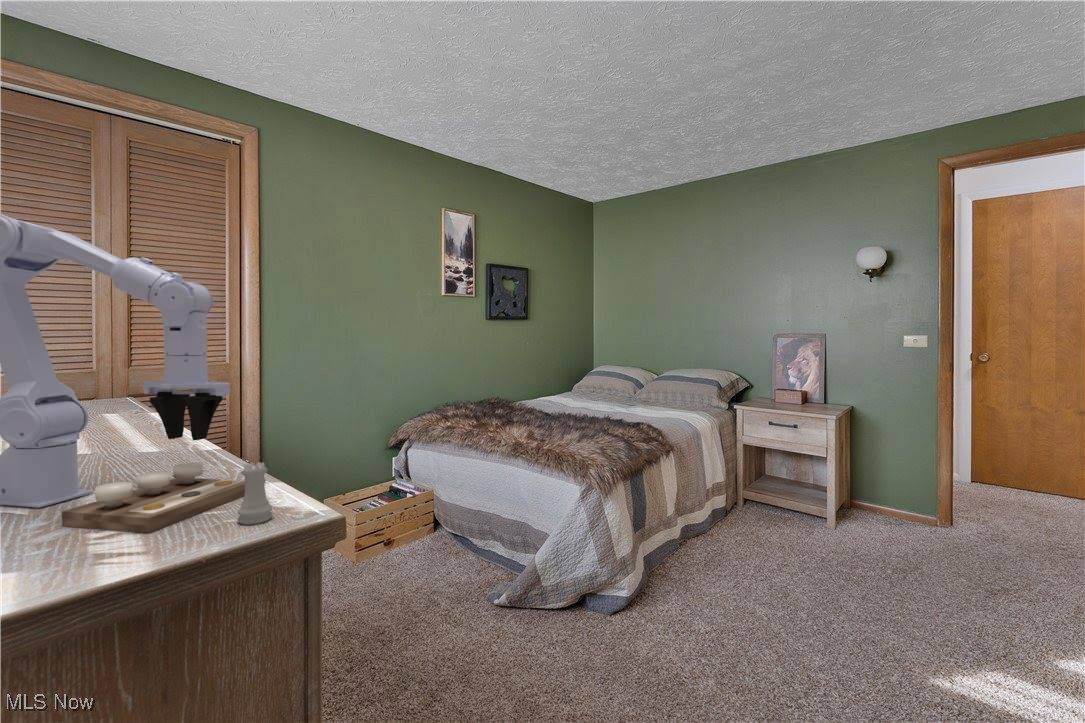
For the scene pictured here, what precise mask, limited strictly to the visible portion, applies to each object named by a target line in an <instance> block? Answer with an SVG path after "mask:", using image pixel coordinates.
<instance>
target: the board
mask: <svg viewBox="0 0 1085 723" xmlns="http://www.w3.org/2000/svg"><path fill="white" fill-rule="evenodd" d="M244 481H245V480H233V479H214V478H199V477H198V478H196V477H195V482H193V483H189V484H182V478H174V477H173V478H170V484H169V485H166V486H163V487H162V492H161V493H159V494H153V495H148V494H147V489H139V488H136V489H133V495H132V496H130V497H127V498H124V499H123V505H121V506H117V507H106V501H96V500H95V501H93V502H90V503H89V502H88V503H86V504H83V505H79V506H76V507H73V508H69V509H66V510H62V511H61V526H62V527H71V528H82V529H96V530H107V531H120V532H128V533H129V532H133V533H144V534H151V533H153V532H156V531H159V530H160V529H161V530H162V529H163V528H166V527H168V526H172V525H174V524H176V523H179V522H181V521H183V520H186V519H189V518H191V517H194V516H196V515H199V514H201V513H204V512H207V511H209V510H212V509H215V508H217V507H220V506H222V505H225V504H227V503H230V502H232V501H235V500H237V499H239V498H242V497H243V498H244V494H245V484H244Z"/></svg>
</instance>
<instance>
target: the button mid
mask: <svg viewBox="0 0 1085 723" xmlns="http://www.w3.org/2000/svg"><path fill="white" fill-rule="evenodd" d="M170 480H171V471H162V470H161V471H151V472H145V473H142V474H139V475H137V476H136V484H137V486H136V489H147V494H148V495H153V494H159V493H161V492H162V487H163V486H166V485H169V484H170Z"/></svg>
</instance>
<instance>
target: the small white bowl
mask: <svg viewBox="0 0 1085 723" xmlns="http://www.w3.org/2000/svg"><path fill="white" fill-rule="evenodd" d="M203 474H204V463H202V462H184V463H180V464H176V465H174V466H172V478H173V479H174V478H182V484H189V483H193V482H195V478H196V477H199V476H202V475H203Z"/></svg>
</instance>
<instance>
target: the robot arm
mask: <svg viewBox="0 0 1085 723" xmlns="http://www.w3.org/2000/svg"><path fill="white" fill-rule="evenodd" d="M59 261H64V262H65V261H71V262H73V263H76V264H79V265H80V266H83V267H86V268H88V269H90V270H93V271H95V272H98V273H101V274H103V275H105V276H108V277H110V279H111V282H112V284H113V286H114V287H115V288H116V289H117V290H119V291H121V292H123V293H126V294H128V295H130V296H133V297H135V298H137V299H139V300H141V301H143V302H145V303H148V304H150V305H152V306H155V308H156V309H157V310H158V311H159V312H160V314H161V321H162V323H163V324H162V325H163V327H162V328H163V358H164V359H163V367H164V369H163V371H164V372H163V374H164V380H163V381H161V380H160V381H159V380H158V381H144V382H143V383H142V386H143V388H142V389H143V390H142V391H143V394H144V395H150V394H151V395H152V394H156V396H153V397H149V403H150V404H151V406H153V408H154V409H155V410H156V413H157V414H158V416H159V417H160V419H161V422H162V424H163V427H164V431H165V433H166V437H167V438H168V439H167V440H175V439H179V438H183V436H184V430H185V429H184V428H185V415H186V414H185V413H186V410H187V413H188V415H189V421H190V422H189V423H190V435H191V439H192V441H201V440H204V439H207V437H208V435H209V434H208V433H209V429H210V425H211V423H212V420H213V417H214V415H215V412H216V411H217V409H218V407H219V406H220V404H221V403H222V402H223V396H230V395H231V383H230V382H217V381H208V343H207V342H208V341H207V339H208V338H207V337H208V335H207V334H208V333H207V331H208V330H207V314H209V313H210V311H211V310H212V308H213V305H214V298H213V295H212V293H211V292H210V290H209V289H208V288H207V287H205V286H204V285H202V284H201V282H193V281H191V282H188V281H186V280H185V281H184V279H183V275H182V274H179V273H178V272H172V273H171V272H169V271H166V270H164V269H162V268H160V267H157V266H156V265H155V261H154V260H152V259H149V258H146V257H144V256H143V257H140V258H139V257H129V258H124V259H121V258H120V257H117V256H115V255H114V254H111V253H109V252H107V251H106V250H103V249H101V248H100V247H97V246H96V245H93V244H92V243H90V242H87V241H86V240H83V239H82V238H80V237H78V236H75V235H73V234H71V233H68V232H65V231H60V230H56V229H55V228H53V227H50V226H46V225H40V224H39V225H38V224H35V223H31V222H27V221H23V220H21V219H20V220H19V219H15V218H12V217H9V216H7V215H5V214H1V213H0V367H1V370H2V372H3V375H4V377H5V380H6V383H7V386H8V390H7V391H6V392H5V393H4V394H3V395H2V397H0V438H2V440H3V441H5V443H7V444H8V445H9V447H7V448H6V449H4V450H3V451H2V452H1V453H0V504H1V505H2V506H11V507H27V508H43V507H47V506H50V505H55V504H58V503H61V502H64V501H69V500H72V499H75V498H80V497H83V496H87V495H90V494H94V490H93V489H85V488H84V489H83V488H82V489H81V488H79V468H78V466H79V465H78V464H79V461H78V440H79V439H80V433H81V432H83V431H84V430H85V429H86V428H87V425H88V423H89V420H90V419H89V418H90V417H89V412H88V410H87V408H86V407H85V405H84V404H83V403H82V402H80V401H79V400H78V398H77V396H76V393H75V391H74V389H72V388H71V387H69V386H68V385H66V384H64V383H63V382H61V381H60V380H58V378H57V375H56V372H55V368H54V366H53V364H52V361H51V358H50V354H49V353H48V350H47V346H46V344H45V341H44V338H43V335H42V332H41V329H40V326H39V324H38V321H37V319H36V315H35V313H34V309H33V307H32V305H31V304H32V303H31V301H30V298H29V295H28V293H27V289H26V286H27V284H28V283H29V282H30V281H31V280H33V279H35V278H36V277H38V276H39V275H41V274H42V273H44V272H45V271H47V270H48V269H50V268H51V267H53V266H54V265H56V264H57V263H58V262H59ZM191 395H192V396H191ZM1 505H0V506H1Z"/></svg>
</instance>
